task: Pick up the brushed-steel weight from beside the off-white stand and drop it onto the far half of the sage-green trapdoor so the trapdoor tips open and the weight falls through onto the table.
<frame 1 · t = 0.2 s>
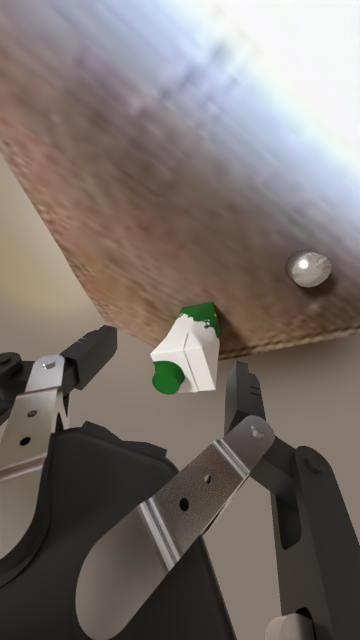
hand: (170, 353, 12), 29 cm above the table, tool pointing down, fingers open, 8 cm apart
steel weight: (301, 265, 33), on the table
milk carton: (201, 318, 43), on the table
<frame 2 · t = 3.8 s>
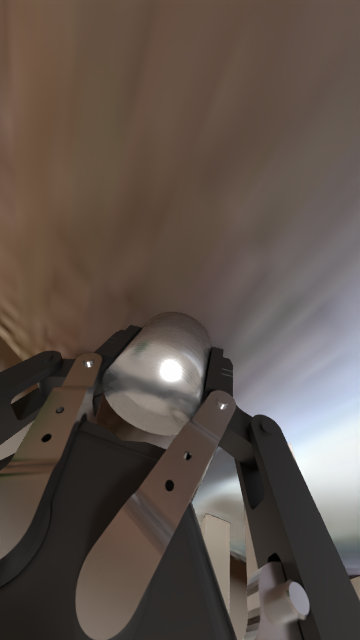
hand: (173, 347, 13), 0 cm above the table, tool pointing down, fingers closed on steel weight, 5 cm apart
steel weight: (175, 344, 13), on the table, touching gripper
trapdoor stand: (324, 526, 19), on the table
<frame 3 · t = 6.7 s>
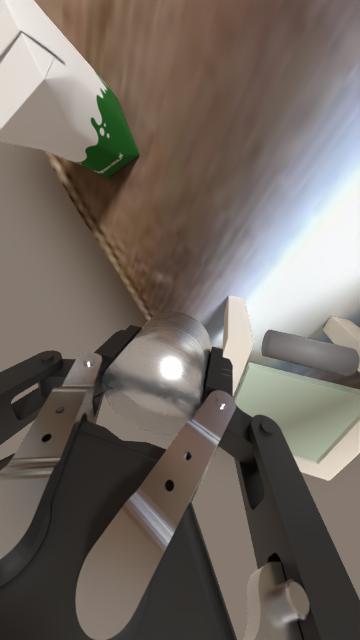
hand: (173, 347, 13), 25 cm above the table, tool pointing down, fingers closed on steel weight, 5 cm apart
trapdoor: (286, 394, 27), point 13 cm above the table, hinge at 0.0°
steel weight: (175, 343, 13), point 24 cm above the table, touching gripper
trapdoor stand: (266, 352, 39), on the table
milk carton: (112, 143, 30), on the table
when the fingers open (19 cm above the table, at t = 9.7 s): steel weight drops 16 cm and tips over, point 2 cm above the table.
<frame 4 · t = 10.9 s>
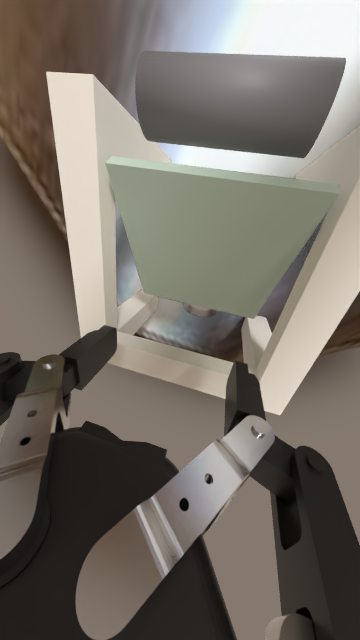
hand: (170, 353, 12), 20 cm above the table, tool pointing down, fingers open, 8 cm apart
trapdoor: (210, 227, 17), point 10 cm above the table, hinge at -33.7°
steel weight: (206, 277, 27), point 2 cm above the table, tilted 90°
trapdoor stand: (211, 256, 28), on the table
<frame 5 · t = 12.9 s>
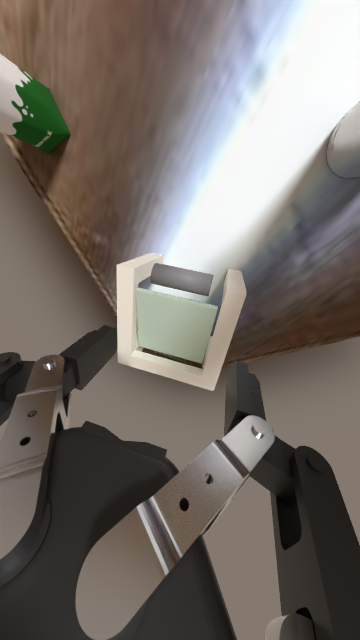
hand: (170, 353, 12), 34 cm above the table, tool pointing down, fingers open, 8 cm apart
trapdoor: (176, 314, 36), point 12 cm above the table, hinge at -11.4°
trapdoor stand: (187, 303, 48), on the table
milk carton: (49, 124, 38), on the table
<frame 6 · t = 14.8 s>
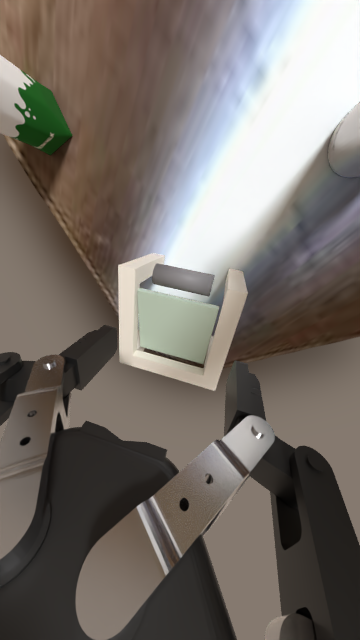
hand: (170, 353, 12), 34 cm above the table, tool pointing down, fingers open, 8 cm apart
trapdoor: (178, 314, 36), point 12 cm above the table, hinge at -10.7°
trapdoor stand: (188, 303, 48), on the table
milk carton: (52, 126, 38), on the table
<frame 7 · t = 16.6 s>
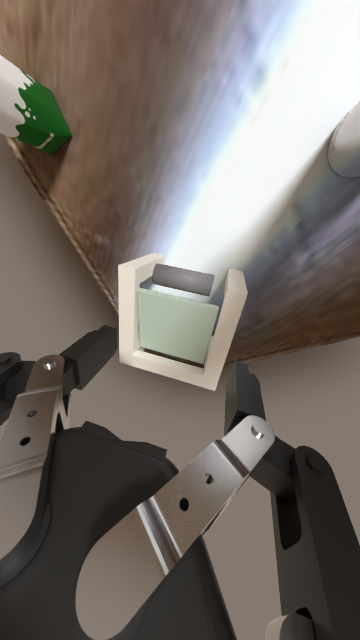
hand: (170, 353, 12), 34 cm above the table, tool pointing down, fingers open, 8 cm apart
trapdoor: (178, 314, 36), point 12 cm above the table, hinge at -10.7°
trapdoor stand: (188, 303, 48), on the table
milk carton: (52, 126, 38), on the table
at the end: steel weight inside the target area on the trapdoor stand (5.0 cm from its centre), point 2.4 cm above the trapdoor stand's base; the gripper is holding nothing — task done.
